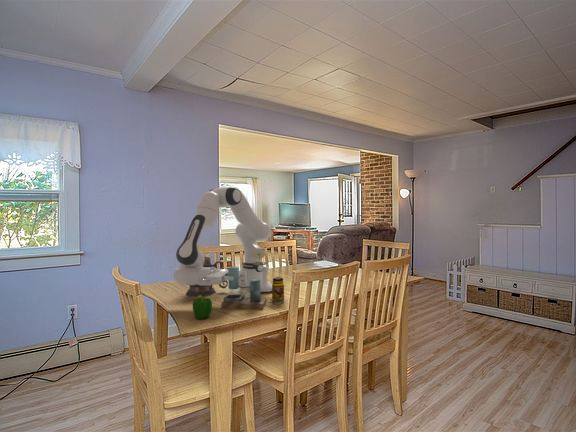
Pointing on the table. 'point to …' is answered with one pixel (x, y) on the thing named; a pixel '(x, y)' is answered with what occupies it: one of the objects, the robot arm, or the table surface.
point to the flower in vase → (259, 254)
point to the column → (234, 272)
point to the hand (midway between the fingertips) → (235, 276)
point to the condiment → (277, 291)
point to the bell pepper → (202, 307)
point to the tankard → (204, 290)
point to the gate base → (246, 303)
